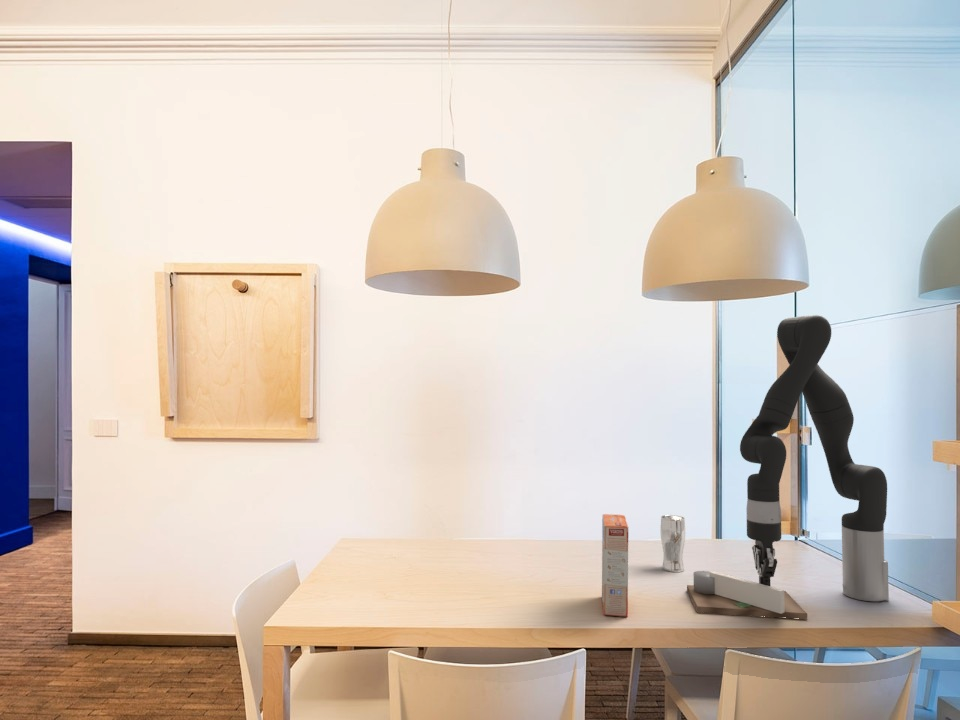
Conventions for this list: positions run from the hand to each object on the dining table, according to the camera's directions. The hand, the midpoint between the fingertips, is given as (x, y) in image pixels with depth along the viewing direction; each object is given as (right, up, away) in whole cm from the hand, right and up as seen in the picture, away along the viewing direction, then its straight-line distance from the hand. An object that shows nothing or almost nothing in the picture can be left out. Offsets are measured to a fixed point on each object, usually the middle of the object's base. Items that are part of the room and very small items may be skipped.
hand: (764, 591), depth 148 cm
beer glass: (-11, -6, +34) cm, 36 cm away
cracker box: (-35, -5, +2) cm, 36 cm away
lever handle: (-6, -3, +3) cm, 7 cm away
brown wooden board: (-3, -5, +4) cm, 7 cm away
